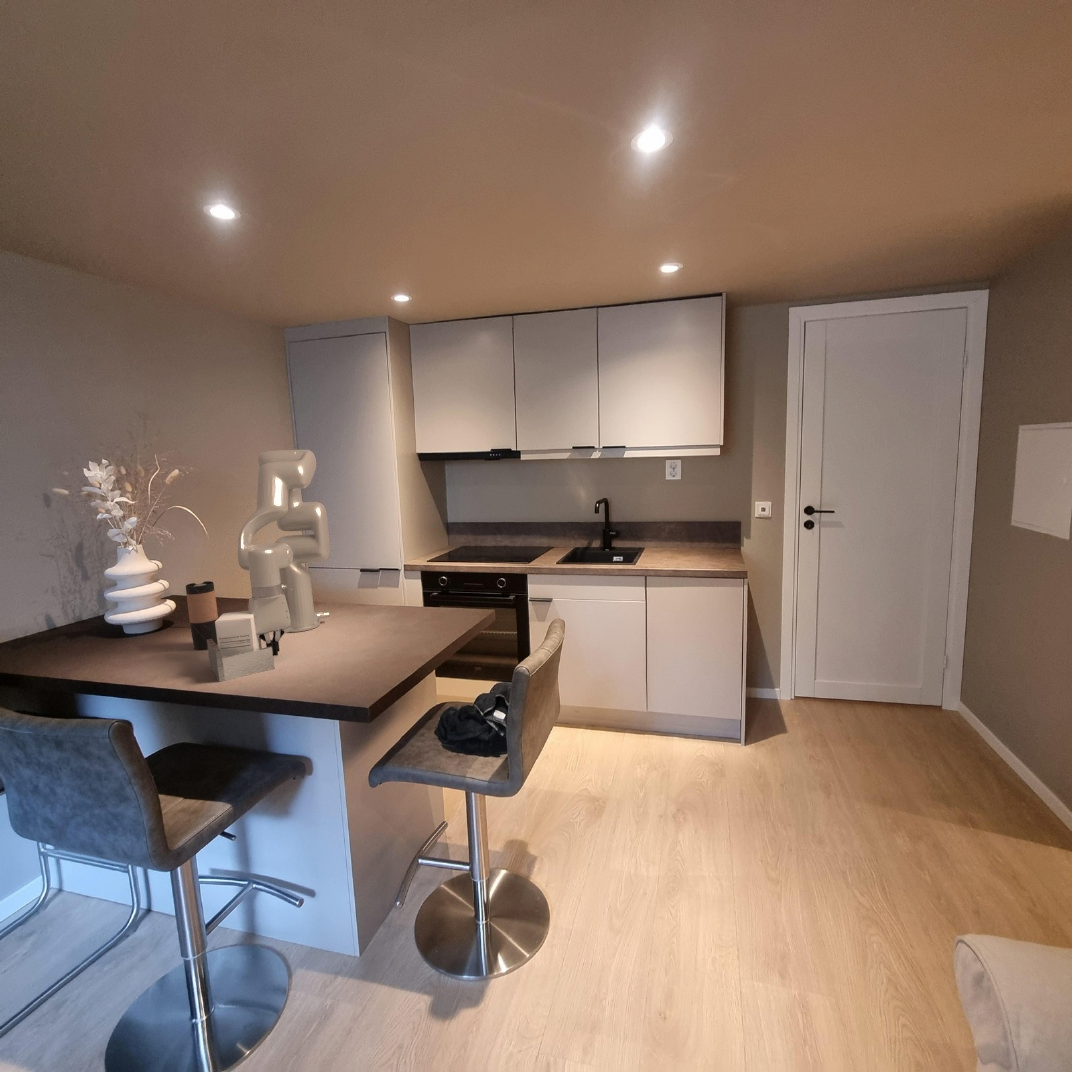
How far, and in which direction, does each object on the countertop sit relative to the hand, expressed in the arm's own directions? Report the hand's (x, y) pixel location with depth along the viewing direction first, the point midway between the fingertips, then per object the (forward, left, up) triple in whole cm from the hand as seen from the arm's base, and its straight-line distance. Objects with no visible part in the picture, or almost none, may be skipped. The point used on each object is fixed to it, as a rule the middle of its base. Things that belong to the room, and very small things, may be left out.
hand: (273, 654), depth 160 cm
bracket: (+8, 0, -2) cm, 8 cm away
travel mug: (+12, -30, -2) cm, 33 cm away
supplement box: (+8, -1, -2) cm, 8 cm away
